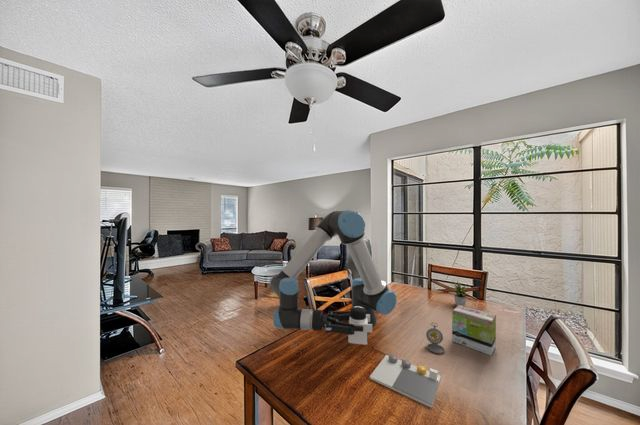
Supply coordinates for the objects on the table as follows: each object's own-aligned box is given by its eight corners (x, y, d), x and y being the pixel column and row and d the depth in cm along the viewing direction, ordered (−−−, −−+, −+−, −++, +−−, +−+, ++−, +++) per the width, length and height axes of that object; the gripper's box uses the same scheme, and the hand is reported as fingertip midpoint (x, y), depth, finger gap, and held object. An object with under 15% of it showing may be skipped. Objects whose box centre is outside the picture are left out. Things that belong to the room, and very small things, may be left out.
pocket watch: (435, 355, 94) (435, 331, 94) (421, 344, 102) (421, 322, 102) (451, 352, 96) (451, 329, 96) (436, 342, 104) (436, 320, 105)
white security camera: (367, 345, 84) (367, 312, 85) (348, 343, 86) (348, 311, 86) (367, 335, 91) (367, 305, 92) (349, 333, 93) (349, 304, 93)
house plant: (440, 302, 154) (440, 277, 154) (456, 299, 158) (456, 276, 158) (459, 310, 140) (459, 283, 141) (476, 307, 145) (476, 282, 145)
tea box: (451, 342, 105) (451, 309, 105) (457, 334, 112) (457, 304, 112) (492, 356, 94) (492, 320, 94) (496, 347, 101) (496, 313, 101)
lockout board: (369, 378, 80) (369, 370, 80) (386, 356, 93) (386, 349, 93) (431, 407, 68) (431, 398, 68) (441, 377, 81) (441, 369, 81)
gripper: (316, 317, 101) (368, 320, 98) (308, 343, 81) (374, 348, 78) (316, 300, 101) (368, 303, 98) (308, 322, 81) (374, 325, 78)
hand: (371, 323), depth 88 cm, fingers closed on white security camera, 7 cm apart
